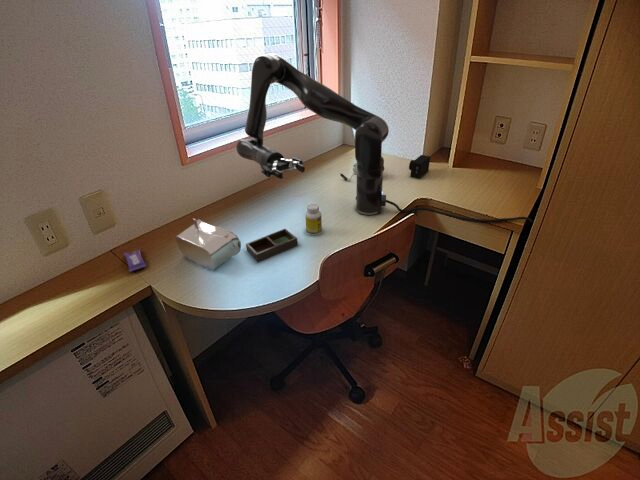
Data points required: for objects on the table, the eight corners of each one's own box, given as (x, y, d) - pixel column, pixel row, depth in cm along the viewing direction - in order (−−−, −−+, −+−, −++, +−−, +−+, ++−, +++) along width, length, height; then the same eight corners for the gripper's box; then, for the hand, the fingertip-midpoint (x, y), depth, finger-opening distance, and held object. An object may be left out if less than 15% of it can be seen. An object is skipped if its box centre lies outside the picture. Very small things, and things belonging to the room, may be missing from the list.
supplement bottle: (320, 236, 120) (319, 210, 114) (304, 235, 121) (302, 209, 115) (323, 228, 124) (322, 203, 119) (308, 227, 125) (306, 202, 120)
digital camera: (417, 168, 164) (418, 154, 160) (428, 171, 161) (430, 156, 158) (407, 176, 157) (409, 161, 153) (419, 179, 154) (421, 163, 151)
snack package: (145, 263, 108) (127, 269, 106) (147, 268, 109) (130, 274, 107) (138, 245, 116) (122, 251, 114) (140, 250, 117) (124, 256, 115)
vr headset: (244, 256, 112) (236, 216, 104) (216, 275, 105) (205, 234, 97) (206, 239, 121) (196, 201, 113) (177, 256, 114) (165, 216, 106)
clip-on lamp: (352, 191, 154) (386, 173, 158) (350, 179, 150) (385, 161, 154) (338, 179, 162) (370, 163, 166) (335, 167, 158) (369, 151, 162)
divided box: (297, 245, 116) (297, 238, 114) (257, 262, 109) (256, 254, 107) (285, 235, 121) (285, 228, 119) (246, 251, 114) (245, 243, 113)
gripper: (250, 154, 126) (273, 167, 115) (285, 145, 133) (309, 157, 121) (253, 173, 130) (275, 188, 119) (287, 164, 137) (310, 177, 126)
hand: (292, 172), depth 120 cm, fingers open, 8 cm apart
